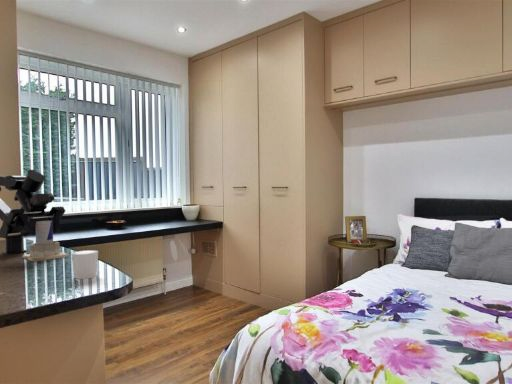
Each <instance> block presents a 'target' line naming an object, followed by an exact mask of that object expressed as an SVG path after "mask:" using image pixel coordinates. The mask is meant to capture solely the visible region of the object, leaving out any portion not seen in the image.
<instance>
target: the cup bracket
mask: <svg viewBox="0 0 512 384" xmlns="http://www.w3.org/2000/svg"><path fill="white" fill-rule="evenodd" d="M60 244H61V243H60V242H59V241H53V244H49V245H36V242H33V243H30V244H29V253H28V254H22V258H23V259H25V260H28V261H30V262H33V263H36V262H43V261H48V260H54V259H60V258H67V257H68V256H69V255H68V253H65V252H62V251H60V250H61V249H60Z"/></svg>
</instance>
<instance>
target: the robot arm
mask: <svg viewBox="0 0 512 384" xmlns="http://www.w3.org/2000/svg"><path fill="white" fill-rule="evenodd" d="M45 180H46V177H45V175H44V174H42V173H41V172H38V171H36V169H29V170H28V171H27V174H26V175H3V174H2V175H1V174H0V192H2V186H3V187H4V189H6V190H8V191H10V192H12V191H13V192H14V191H16V192H15V196H14V198H13V201H17V202H19V204H20V206H21V207H20V208H10V207H9V205H7V203H6V202H5V201H3V200H2V198H1V197H0V220H1V221H2V224H1V227H0V238H1V239H5V242H4V243H5V245H4V246H5V248H4V249H5V250H2V253H3V254H6V255H11V254H19V253H27V250H26V249H24V236H25V237H26V236H29V234H30V235H35V234H36V231H35V230H34V228H33V226H32V224H31V220H29V219H41V218H43V219H44V218H47V220H48V221H52V223H53V229H55V230H56V231H57V232H60V231H61V219H62V217H63V216H64V214H65V213H66V209H65V207H64V206H52V207H51V208H50V210H49V211H48V210H47V211H45V210H46V209H47V208H48V206H47V205H48V204H49V203H52V202H54V200H55V195H54V194H53V193H52V192H46V193H38V192H39V191H40V189H41V188H42V186H43V183H44V182H45Z"/></svg>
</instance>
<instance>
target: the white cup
mask: <svg viewBox="0 0 512 384" xmlns="http://www.w3.org/2000/svg"><path fill="white" fill-rule="evenodd" d="M98 257H99V251H98V250H95V249H87V250H86V249H85V250H77V251H73V252H71V262H72V268H73V269H72V270H73V277H74V279H77V280H85V279H91V278H94V277H96V276H97V274H98V273H97V272H98V261H99V258H98Z"/></svg>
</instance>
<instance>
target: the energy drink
mask: <svg viewBox="0 0 512 384" xmlns="http://www.w3.org/2000/svg"><path fill="white" fill-rule="evenodd" d="M35 222H36V223H35V243H36V245H49V244H53V242H54V227H53V223H52V221H50V220H38V221H35Z"/></svg>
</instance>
